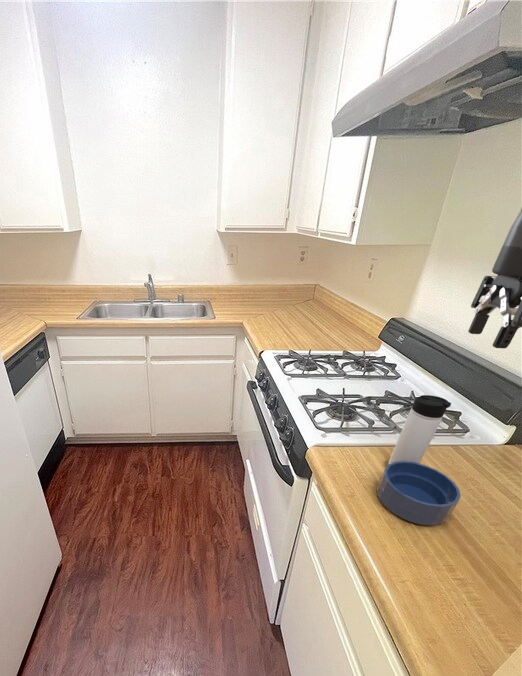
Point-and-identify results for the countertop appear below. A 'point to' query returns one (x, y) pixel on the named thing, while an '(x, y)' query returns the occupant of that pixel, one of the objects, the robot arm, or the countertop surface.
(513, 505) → the countertop surface
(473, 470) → the countertop surface
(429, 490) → the bowl
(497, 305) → the robot arm
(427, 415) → the travel mug
